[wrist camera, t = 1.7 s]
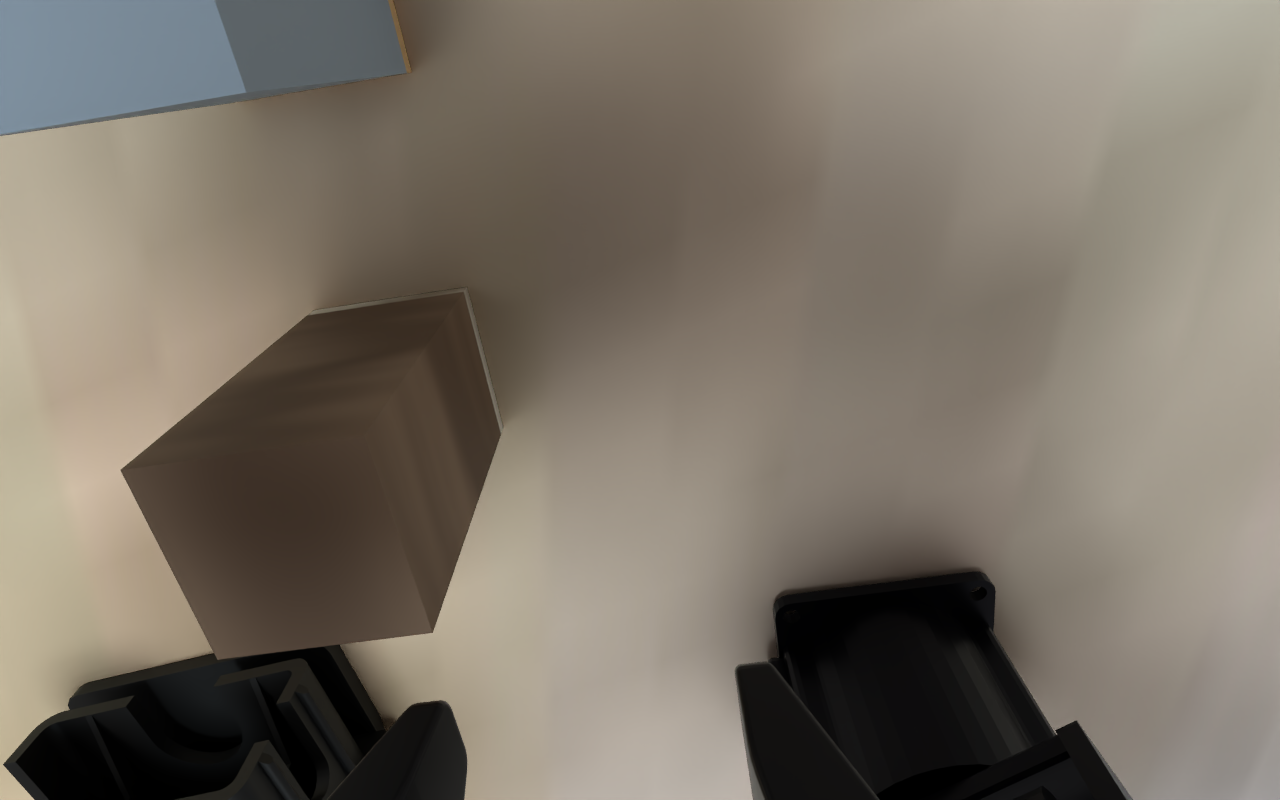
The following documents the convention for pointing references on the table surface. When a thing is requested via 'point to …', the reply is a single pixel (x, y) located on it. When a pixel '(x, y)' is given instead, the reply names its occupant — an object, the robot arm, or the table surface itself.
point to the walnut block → (328, 478)
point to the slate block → (181, 54)
